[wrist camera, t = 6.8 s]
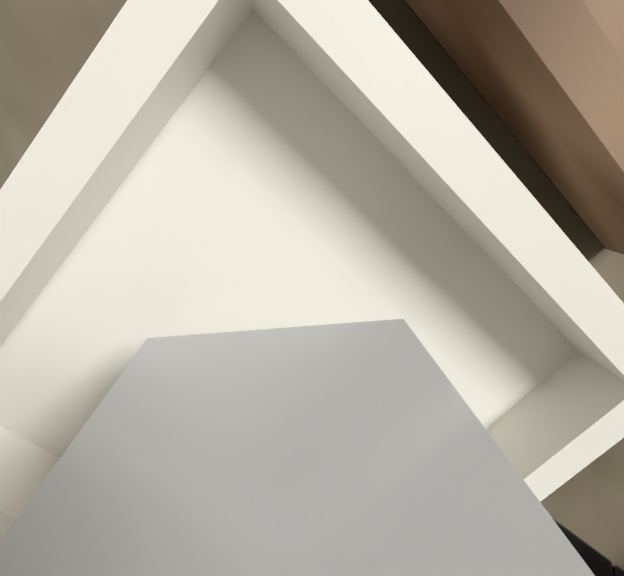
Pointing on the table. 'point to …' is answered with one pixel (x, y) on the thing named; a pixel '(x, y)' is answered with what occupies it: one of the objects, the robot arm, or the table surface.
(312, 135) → the cream tray
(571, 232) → the table surface
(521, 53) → the walnut tray
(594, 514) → the table surface
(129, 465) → the stone block
